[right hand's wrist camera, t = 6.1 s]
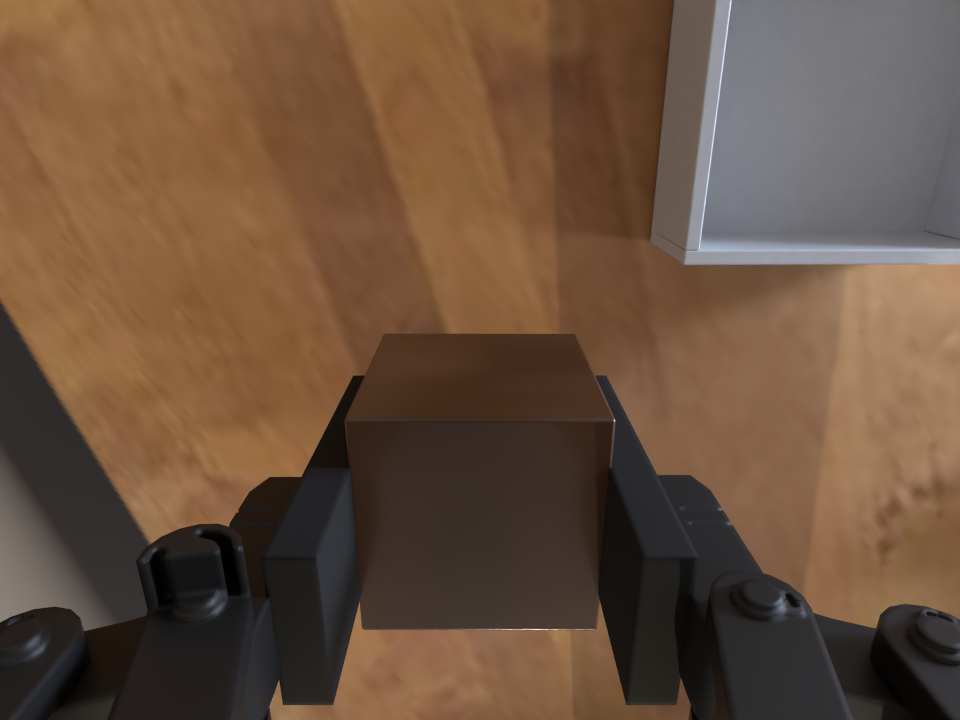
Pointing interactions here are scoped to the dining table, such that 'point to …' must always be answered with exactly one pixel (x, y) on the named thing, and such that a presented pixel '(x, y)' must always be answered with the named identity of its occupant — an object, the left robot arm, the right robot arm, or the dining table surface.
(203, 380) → the dining table surface
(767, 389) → the dining table surface
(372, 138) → the dining table surface
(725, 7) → the grey bin
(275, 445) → the dining table surface
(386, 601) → the walnut block
